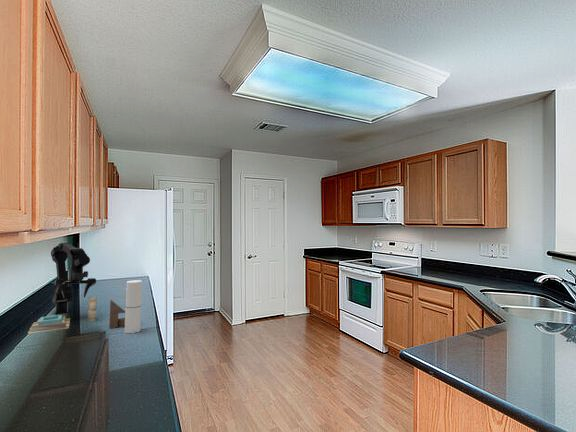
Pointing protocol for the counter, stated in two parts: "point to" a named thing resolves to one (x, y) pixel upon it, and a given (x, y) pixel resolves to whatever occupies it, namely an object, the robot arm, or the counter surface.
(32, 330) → the rail base
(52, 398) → the counter surface
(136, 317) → the cylindrical container
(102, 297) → the counter surface
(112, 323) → the wooden block
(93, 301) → the birch dowel
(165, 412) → the counter surface
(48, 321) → the socket block
